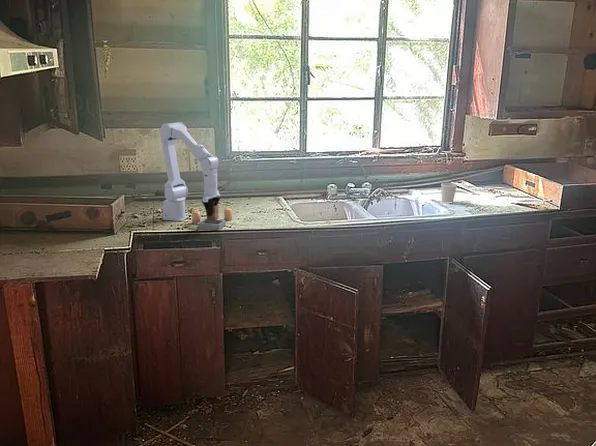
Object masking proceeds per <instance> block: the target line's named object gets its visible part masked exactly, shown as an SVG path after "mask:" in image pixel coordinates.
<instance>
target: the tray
mask: <svg viewBox="0 0 596 446" xmlns="http://www.w3.org/2000/svg"><path fill="white" fill-rule="evenodd" d="M224 227H226V220H224V219H217V220H216V221H211V220H207V218H203V219H202V220H200V222H199V223H198V224H197V229H201V230H209V231H210V230H212V231H220V230H222V229H223V228H224Z"/></svg>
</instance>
